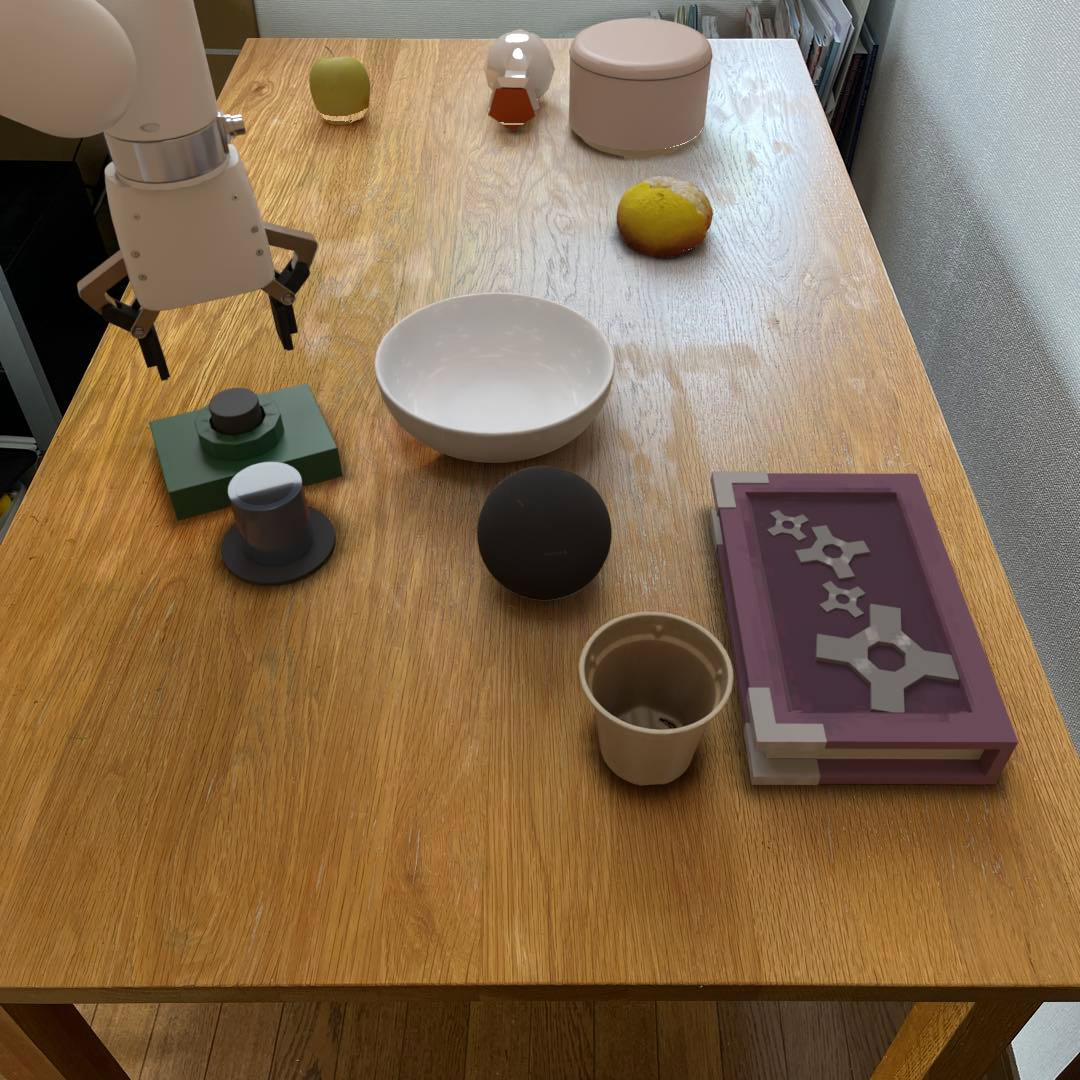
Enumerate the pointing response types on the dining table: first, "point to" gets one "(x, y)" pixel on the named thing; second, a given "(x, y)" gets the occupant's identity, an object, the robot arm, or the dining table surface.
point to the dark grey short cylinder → (235, 411)
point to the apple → (339, 87)
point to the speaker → (544, 533)
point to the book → (852, 634)
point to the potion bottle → (517, 76)
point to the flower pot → (653, 692)
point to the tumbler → (271, 513)
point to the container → (638, 86)
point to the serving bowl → (494, 375)
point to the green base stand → (242, 449)
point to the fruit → (663, 217)
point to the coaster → (280, 574)
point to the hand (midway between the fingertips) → (225, 355)
